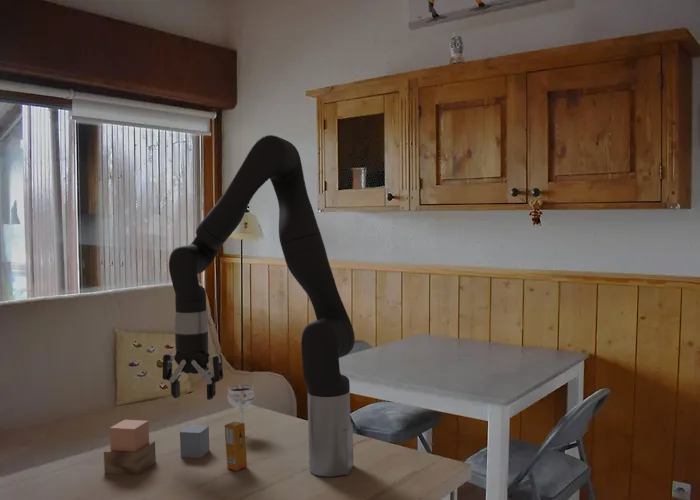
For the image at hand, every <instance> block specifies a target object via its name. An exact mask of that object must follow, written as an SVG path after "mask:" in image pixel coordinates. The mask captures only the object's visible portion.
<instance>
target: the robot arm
mask: <svg viewBox="0 0 700 500" xmlns="http://www.w3.org/2000/svg"><path fill="white" fill-rule="evenodd" d="M301 160H302V159H301V156H300V152H299V151H298V149H297V147H296V146H295V145H294V144H293V143H292V142H290V141H289V140H287V139H284V138H282V137H279V136H277V135H272V134H271V135H270V134H267V135H264V136H262V137H259V138H258V139H257V140H256V141H255V142H254V144H252V147H251V148H250V149H249V151H248V153H247V154H246V157H244V160H243V162H242V163H241V166H240V167H239V168H238V170H237V172H236V174H235V175H234V177H233V178H232V180H231V182H230V183H229V184H228V187H227V188H226V190H225V191H224V193H223V194H222V195H221V197H220V198H219V199H218V201H217V202H216V203H215V205H214V206H213V207H212V208H211V210H210V211H208V213H207V214H206V215H205V217H204V218H203V219H202V220H201V222H200V223H199V224H198V226H197V227H196V231H195V233H196V236H195V238H194V239H193V241H192V242H190V244H187V245H180V246H177V247H175V248H174V249H173V250H172V252H171V253H170V255H169V259H168V272H169V275H170V280H171V282H172V287H173V290H174V295H175V297H174V298H175V299H174V303H175V316H174V317H175V318H174V335H175V336H174V343H175V346H174V347H175V354H173V353H172V352H167V353H166V354H164V355H163V357H162V379H163V380H164V381H166V380H167V381H168V382H170V394H171V396H172V398H173V399H179V397H180V396H181V384H180V383H181V381H180V380H179V379H180V378H181V376H182V375H183V373H184V374H199V375H200V377H201V378H203V379H204V380H205V382H206V383H207V384H206V399H207V400H208V401H211V400H212V399H214V397H215V396H216V383H217V382H220V381H221V380H223V379H224V372H223V359H222V358H223V357H222V355H221V354H220V353H219V354H216V355H210V354H209V323H208V321H209V320H208V313H207V293H206V289H205V288H204V286H202V285H200V282H199V276H198V275H199V274H201V273H203V272H204V271H206V270H207V269H208V268H209V267H210V265H211V264H212V263H213V261H214V260H215V258H216V257H217V255H218V253H219V251H220V249H221V247H222V245H223V244H224V243H225V242H226V241H227V240H228V239H229V238H230V236H231V235H232V234H233V233H234V232H235V230H236V229H237V228H238V226H239V225H240V223H241V222H242V220H243V218H244V216H245V214H246V211H247V209H248V207H249V204H250V202H251V200H252V199H253V197H254V195H255V194H256V193H257V191H258V190H259V189H260V188H261V187H263V185H264V184H266V182H268V180H270V182H271V184H272V187H273V189H274V193H275V196H276V199H277V202H278V209H279V211H278V239H279V243H280V247H281V251H282V253H283V257H284V260H285V264H286V267H287V269H288V270H289V272H290V273H291V275H292V276H293V277H294V279H295V280H296V281H297V283H298V284H299V285H300V287H301V288H302V289H303V291H304V292H305V293H306V295H307V296H308V298H309V300H310V302H311V305H312V308H313V311H314V315H315V317H316V320H313V321H310V322H309V323H307V325H306V326H305V327H304V329H303V331H302V335H301V338H300V339H301V342H300V343H301V344H300V347H301V348H300V349H301V363H302V364H301V365H302V374H303V379H304V383H305V384H306V387H307V389H306V390H307V391H306V392H307V425H308V427H307V428H308V430H307V431H308V464H309V465H308V467H309V469H308V470H309V472H310V473H311V474H313V475H314V476H315V475H316V476H319V477H324V478H325V477H327V478H329V477H339V476H348V475H350V472H351V471H352V470H353V469H352V468H353V466H354V429H353V428H354V427H353V425H354V424H353V422H351V399H350V398H351V397H350V396H351V391H350V390H351V389H350V383H351V382H350V379H349V378H348V377H347V376H346V375H345V374H341V369H340V367H341V366H340V358H343V357H345V356H347V355H348V354H349V353H351V352H352V350H353V348H354V345H355V340H356V339H355V331H354V328H353V324H352V322H351V320H350V317H349V315H348V313H347V310H346V308H345V305H344V303H343V300H342V298H341V295H340V292H339V290H338V287H337V284H336V283H337V282H336V280H335V278H334V274H333V271H332V268H331V264H330V261H329V257H328V253H327V250H326V247H325V243H324V240H323V238H322V234H321V231H320V228H319V225H318V222H317V218H316V216H315V213H314V212H315V211H314V210H313V206H312V204H311V201H310V198H309V195H308V190H307V186H306V182H305V181H306V180H305V175H304V170H303V165H302V164H303V163H302V161H301ZM174 362H176V364H177V365H178V366H177V367H176V369H175V370H174V372H173V363H174ZM209 362H210V363H211V364H210V365H212V369H213V372H212V369H211V368H210V365H208V364H209Z"/></svg>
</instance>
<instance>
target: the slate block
mask: <svg viewBox="0 0 700 500" xmlns="http://www.w3.org/2000/svg"><path fill="white" fill-rule="evenodd" d="M179 441H180V447H179V448H180V458H189V459H190V458H192V459H195V458H196V459H202V458H203V457H204V456H205V455H207V454H208V453H209V452H210V427H209V425H193V424H189V425H188V426H186V427H184V428H183V429H181V430H180V431H179Z"/></svg>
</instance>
